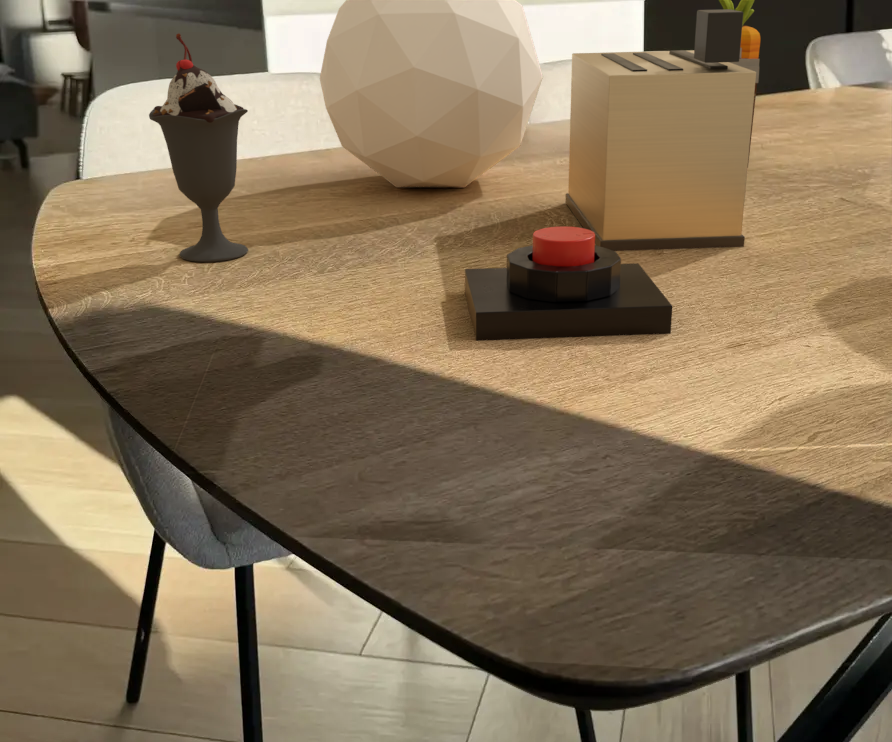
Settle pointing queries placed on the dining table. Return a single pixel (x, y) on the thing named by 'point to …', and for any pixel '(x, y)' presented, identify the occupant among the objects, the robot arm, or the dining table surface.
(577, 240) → the button
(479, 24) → the ball
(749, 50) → the carrot
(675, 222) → the toaster
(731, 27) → the block
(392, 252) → the dining table surface
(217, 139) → the sundae
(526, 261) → the block
